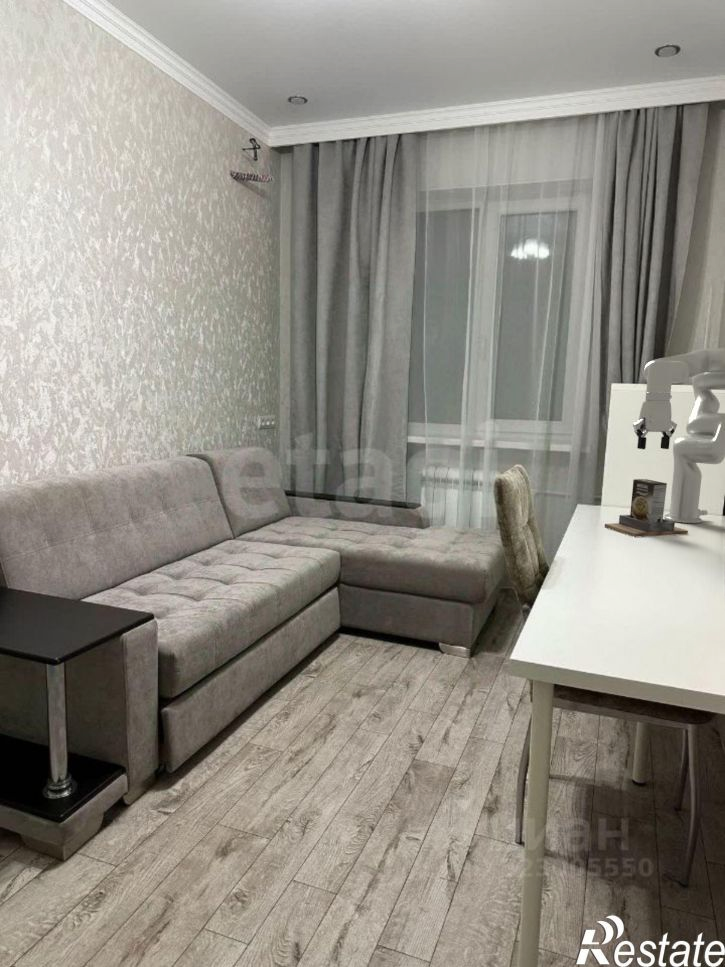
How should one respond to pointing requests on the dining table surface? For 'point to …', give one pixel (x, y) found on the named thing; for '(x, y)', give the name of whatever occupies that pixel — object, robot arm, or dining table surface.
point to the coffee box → (648, 500)
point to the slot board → (645, 527)
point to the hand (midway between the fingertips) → (653, 448)
